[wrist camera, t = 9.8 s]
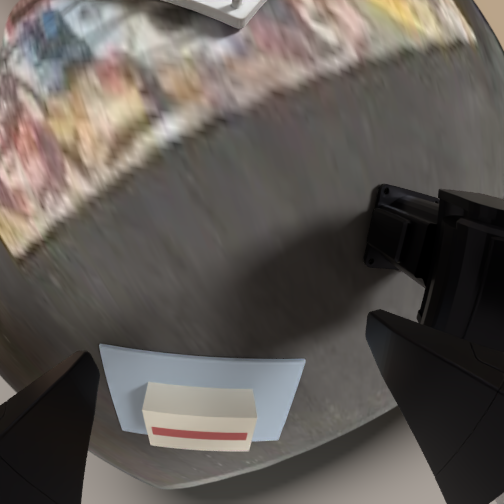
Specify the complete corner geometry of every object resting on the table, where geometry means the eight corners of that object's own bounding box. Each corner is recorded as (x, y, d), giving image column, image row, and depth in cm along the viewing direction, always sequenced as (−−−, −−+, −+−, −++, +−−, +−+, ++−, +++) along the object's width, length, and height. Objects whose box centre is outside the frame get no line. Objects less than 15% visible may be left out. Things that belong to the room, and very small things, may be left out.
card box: (148, 381, 22) (141, 410, 19) (252, 388, 24) (257, 418, 20) (154, 419, 24) (150, 445, 21) (245, 425, 25) (248, 451, 22)
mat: (304, 358, 23) (305, 361, 23) (277, 437, 28) (278, 440, 27) (100, 343, 21) (98, 346, 20) (123, 427, 25) (122, 430, 24)
